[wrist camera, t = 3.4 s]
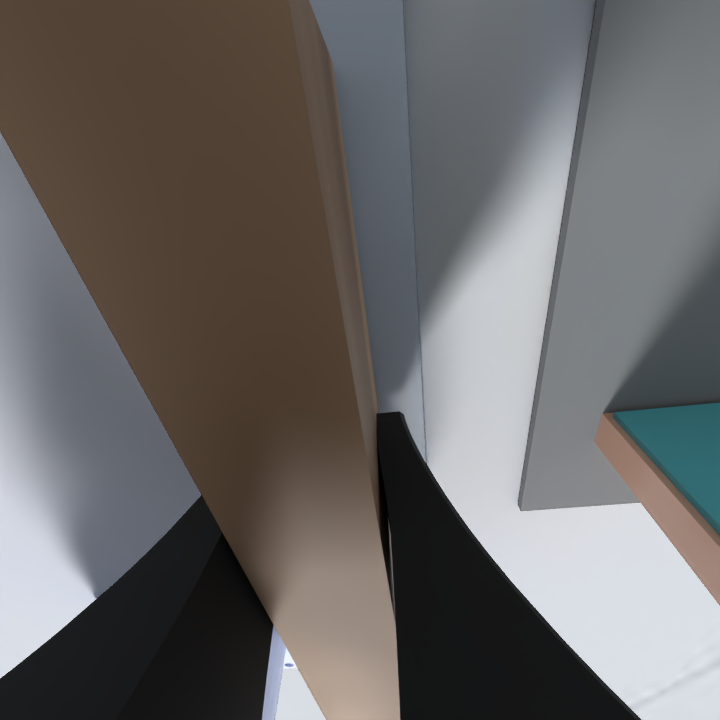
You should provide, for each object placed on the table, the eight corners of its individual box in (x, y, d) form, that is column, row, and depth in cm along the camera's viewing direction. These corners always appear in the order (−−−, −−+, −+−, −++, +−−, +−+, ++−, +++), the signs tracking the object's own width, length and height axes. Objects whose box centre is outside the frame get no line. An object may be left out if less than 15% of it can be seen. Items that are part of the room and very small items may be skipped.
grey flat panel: (319, 566, 16) (318, 576, 16) (120, -5, 6) (106, -14, 6) (429, 559, 16) (431, 569, 16) (397, -60, 6) (399, -72, 6)
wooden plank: (341, 561, 15) (332, 730, 11) (205, 85, 7) (-84, -21, 2) (398, 558, 15) (412, 727, 10) (332, 63, 6) (272, -95, 2)
